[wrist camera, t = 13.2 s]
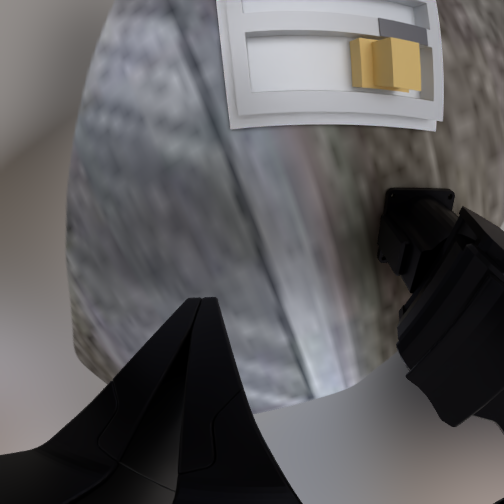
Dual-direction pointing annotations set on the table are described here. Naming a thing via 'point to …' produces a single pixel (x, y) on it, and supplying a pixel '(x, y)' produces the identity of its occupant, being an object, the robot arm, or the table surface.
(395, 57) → the tab
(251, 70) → the switch bank
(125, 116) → the table surface
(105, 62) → the table surface
